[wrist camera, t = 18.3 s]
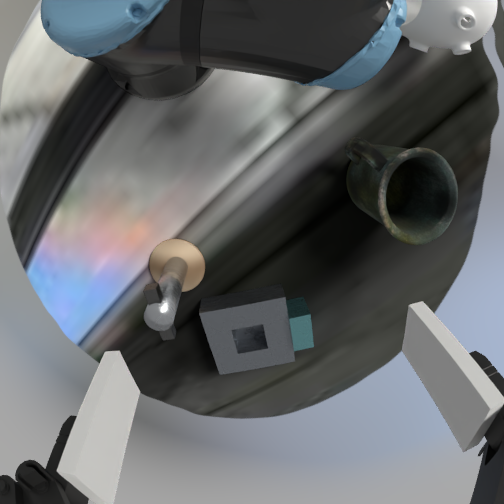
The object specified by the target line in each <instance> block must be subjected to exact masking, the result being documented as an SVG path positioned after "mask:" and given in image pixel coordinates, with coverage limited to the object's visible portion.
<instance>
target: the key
mask: <svg viewBox="0 0 504 504" xmlns="http://www.w3.org/2000/svg"><path fill="white" fill-rule="evenodd" d="M187 271H188V265H187V263H186V261H185V260H184V259H182V258H180V257H172V258H170V259H169V260H168V261H167V263H166V265H165V267H164V269H163V271H162V274H161V276H160V278H159V280H158V283H154V284H148V285H146V287H145V289H144V291H143V292H144V294H145V297H146V299H147V302H148V305H147V308H146V310H145V312H144V320H145V322H146V324H147V325H148V326H149V327H150V328H152V329H154V330H157V331H159V332H160V335H161V337H162V339H163V340H169V339H175V335H176V329H175V327H174V324H173V321H174V317H175V313H176V310H177V306H178V302H179V299H180V295H181V292H182V288H183V285H184V281H185V278H186V274H187Z"/></svg>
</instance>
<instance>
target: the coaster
mask: <svg viewBox="0 0 504 504" xmlns="http://www.w3.org/2000/svg"><path fill="white" fill-rule="evenodd" d="M172 257H180V258H182V259H184V260H185V261H186V263H187V265H188V271H187V274H186V278H185V281H184V285H183V288H182V292H185V291H188V290H191V289H193V288H194V287H196V286H197V285H198V284H199V283H200V282H201V280H202V278H203V276H204V272H205V261H204V258H203V255H202V253H201V252H200V250H199V249H198V248H197V247H196V246H195V245H193V244H192V243H190V242H188V241H186V240H182V239H169V240H166V241H163V242H162V243H160V244H159V245H158V246H157V247H156V248H155V249H154V251H153V252H152V254H151V257H150V262H149V267H150V272H151V274H152V276H153V278H154V279H155V281H156V282H157V283H158V280H159V278H160V276H161V274H162V271H163V269H164V267H165V265H166V263H167V261H168V260H169V259H170V258H172Z"/></svg>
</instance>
